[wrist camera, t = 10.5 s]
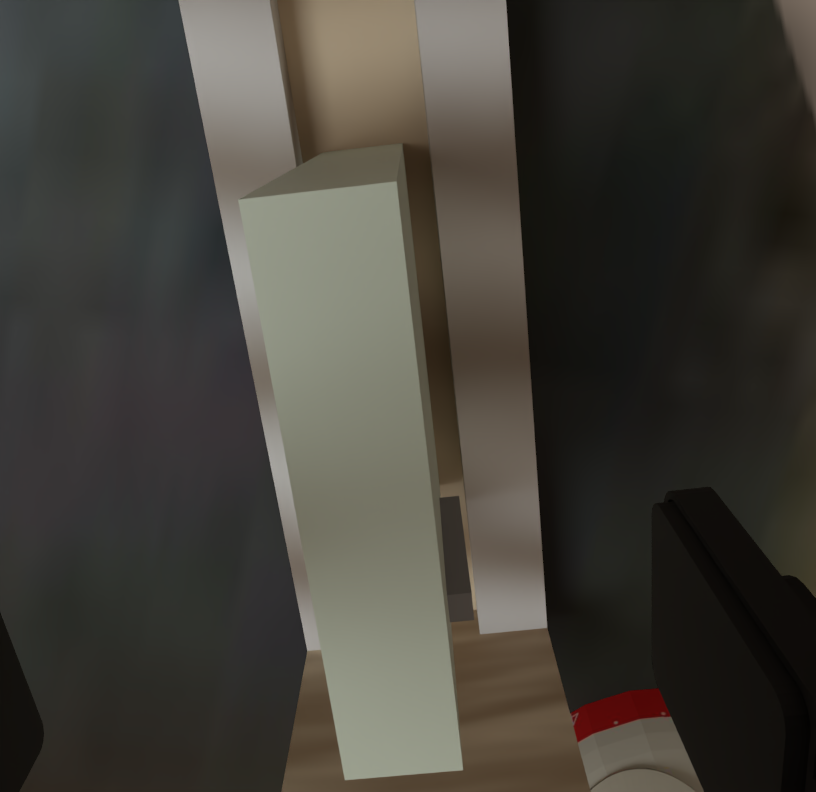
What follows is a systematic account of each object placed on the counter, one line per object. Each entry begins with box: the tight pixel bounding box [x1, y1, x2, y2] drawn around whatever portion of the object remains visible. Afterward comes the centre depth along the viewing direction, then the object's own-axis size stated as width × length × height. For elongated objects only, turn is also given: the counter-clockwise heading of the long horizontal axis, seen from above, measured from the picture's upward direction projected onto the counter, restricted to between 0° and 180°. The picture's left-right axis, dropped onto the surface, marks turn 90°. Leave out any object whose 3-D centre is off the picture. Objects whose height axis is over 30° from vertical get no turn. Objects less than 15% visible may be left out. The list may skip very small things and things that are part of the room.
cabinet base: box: [179, 0, 591, 792], centre depth 21 cm, size 26×9×13 cm, turn 7°
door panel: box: [238, 143, 474, 780], centre depth 20 cm, size 12×3×13 cm, turn 6°
